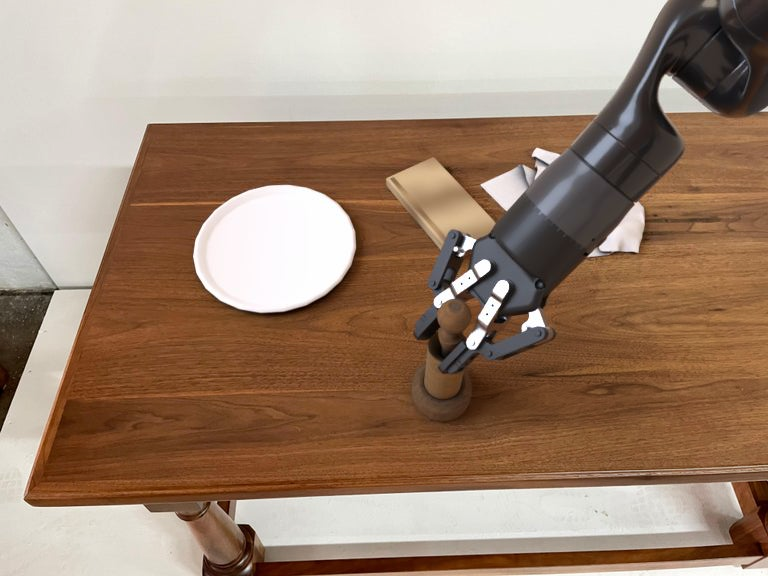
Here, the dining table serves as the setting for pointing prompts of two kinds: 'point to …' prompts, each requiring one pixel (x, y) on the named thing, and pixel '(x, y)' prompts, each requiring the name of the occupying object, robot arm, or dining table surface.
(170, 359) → the dining table surface
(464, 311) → the mortar and pestle
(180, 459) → the dining table surface
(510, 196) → the cloth
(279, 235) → the plate
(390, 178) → the cutting board
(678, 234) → the dining table surface
